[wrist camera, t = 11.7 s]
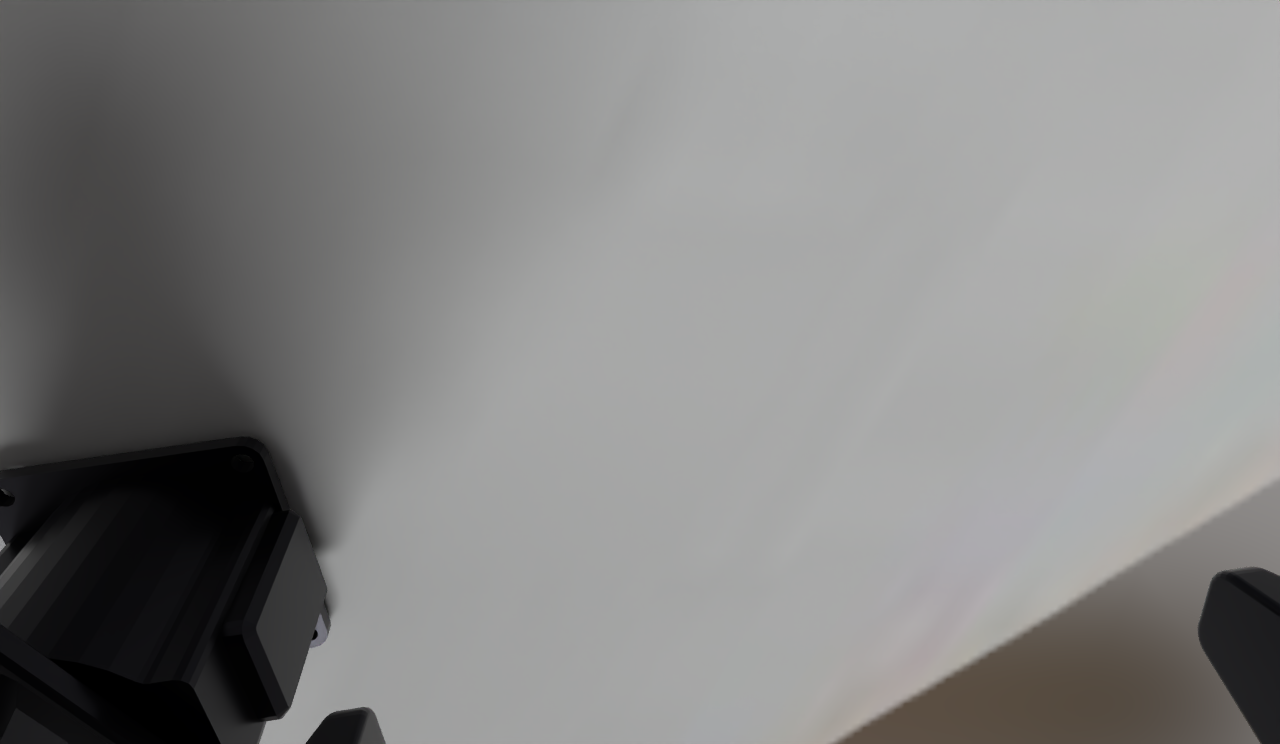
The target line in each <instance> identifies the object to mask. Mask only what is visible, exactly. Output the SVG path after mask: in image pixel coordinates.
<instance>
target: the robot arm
mask: <svg viewBox="0 0 1280 744" xmlns="http://www.w3.org/2000/svg"><path fill="white" fill-rule="evenodd" d="M239 454H241V455H246V456H248V457H250V458H251V459H252V460H253V463H244V462H242V461H240V460H239V459H238V457H237V456H236V455H239ZM1 489H5V490H7V491H10V492H11V493H12V494H13V495H14V496H9V495H7V494H5V493H4V492H3V491H2V490H1ZM0 535H1V537H2V539H3V541H4V542H5V544H6V546H5V547H4V548H3V549H2V550H1V552H0V744H259V742H260V739H261V736H262V733H263V730H264V727H265V724H266V721H271V720H277V719H282V718H283V717H284V715H285V714H286V713H287V711H288V710H289V709H290V707H291V705H292V702H293V698H294V695H295V692H296V689H297V686H298V682H299V679H300V676H301V673H302V670H303V666H304V663H305V660H306V657H307V654H308V650H309V648H313V647H316V646H320V645H321V644H323V643H324V642H325V641H326V639H327V637H328V633H329V630H330V626H331V623H330V618H329V616H328V613H327V610H326V607H325V605H324V599H325V596H326V593H327V587H326V584H325V581H324V578H323V576H322V573H321V570H320V567H319V564H318V562H317V559H316V556H315V553H314V550H313V548H312V545H311V542H310V539H309V537H308V534H307V531H306V528H305V525H304V523H303V520H302V517H301V516H299V515H298V514H297V513H296V512H295V511H293V510H290V509H289V506H288V503H287V501H286V498H285V495H284V492H283V490H282V487H281V484H280V481H279V479H278V476H277V473H276V470H275V468H274V465H273V462H272V459H271V457H270V454H269V451H268V450H267V448H266V447H265V445H264V444H263V443H261V442H260V441H259V440H257V439H254V438H251V437H236V438H229V439H222V440H215V441H208V442H201V443H194V444H186V445H179V446H172V447H165V448H158V449H151V450H144V451H137V452H130V453H123V454H116V455H109V456H102V457H94V458H87V459H80V460H73V461H66V462H59V463H52V464H45V465H38V466H31V467H24V468H17V469H10V470H3V471H0ZM315 629H316V630H315ZM1198 637H1199V641H1200V644H1201V646H1202V649H1203V651H1204V652H1205V654H1206V656H1207V657H1208V659H1209V661H1210V662H1211V664H1212V666H1213V667H1214V669H1215V670H1216V672H1217V673H1218V675H1219V677H1220V679H1221V680H1222V682H1223V683H1224V685H1225V686H1226V688H1227V690H1228V691H1229V693H1230V695H1231V696H1232V698H1233V700H1234V701H1235V703H1236V705H1237V706H1238V708H1239V709H1240V711H1241V713H1242V714H1243V716H1244V718H1245V719H1246V721H1247V722H1248V724H1249V726H1250V727H1251V729H1252V731H1253V732H1254V734H1255V735H1256V737H1257V739H1258V740H1259V742H1260V744H1280V576H1279V575H1276V574H1274V573H1272V572H1270V571H1268V570H1265V569H1262V568H1258V567H1244V568H1238V569H1231V570H1226V571H1221V572H1218V573H1217V574H1216V575H1215V576H1214V577H1213V578H1212V580H1211V582H1210V585H1209V589H1208V592H1207V596H1206V599H1205V603H1204V606H1203V609H1202V613H1201V616H1200V620H1199V623H1198ZM306 744H386V743H385V740H384V737H383V735H382V732H381V729H380V726H379V723H378V721H377V718H376V715H375V713H374V712H373V711H372V710H371V709H370V708H368V707H361V708H355V709H348V710H342V711H336V712H333V713H331V714H330V715H328V716H327V717H326V718H325V719H324V720H323V721H322V723H321V724H320V725H319V727H318V728H317V729H316V731H315V732H314V733H313V735H312V736H311V737H310V738H309V740H308V741H307V742H306Z"/></svg>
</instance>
